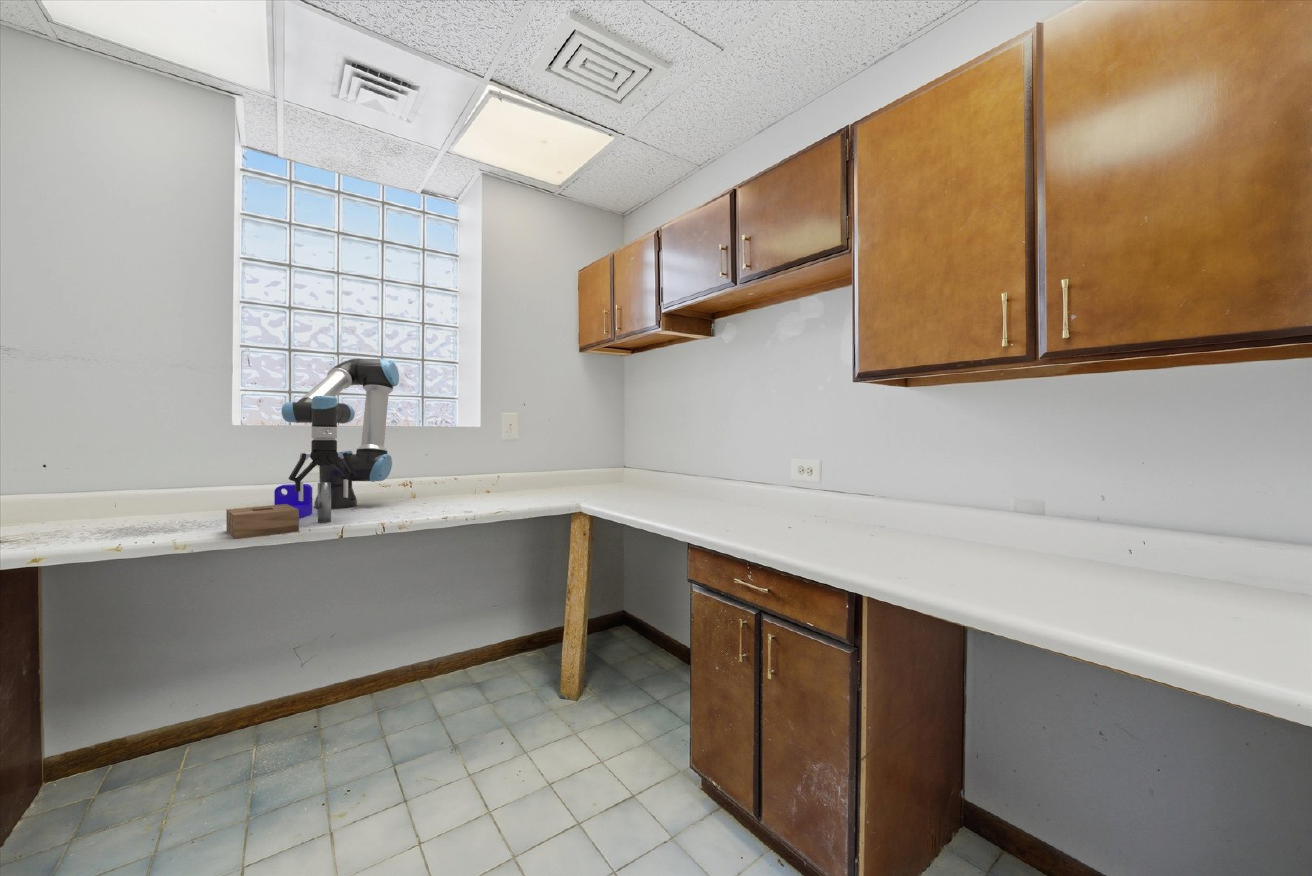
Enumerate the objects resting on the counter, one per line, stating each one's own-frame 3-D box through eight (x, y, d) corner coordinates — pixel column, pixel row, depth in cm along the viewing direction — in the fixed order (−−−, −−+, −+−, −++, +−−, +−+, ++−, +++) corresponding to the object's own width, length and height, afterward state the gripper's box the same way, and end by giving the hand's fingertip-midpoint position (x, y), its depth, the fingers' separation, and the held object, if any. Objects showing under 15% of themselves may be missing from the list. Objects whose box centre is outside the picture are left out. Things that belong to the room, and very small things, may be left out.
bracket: (277, 515, 187) (277, 484, 187) (312, 513, 191) (312, 483, 191) (263, 524, 170) (263, 490, 170) (301, 522, 175) (301, 489, 175)
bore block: (226, 530, 159) (226, 509, 159) (287, 524, 171) (287, 504, 171) (234, 538, 148) (234, 515, 148) (298, 531, 160) (298, 509, 160)
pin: (316, 521, 175) (316, 482, 175) (329, 520, 178) (329, 481, 178) (319, 523, 173) (319, 483, 172) (332, 521, 176) (332, 482, 175)
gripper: (283, 439, 163) (283, 503, 163) (366, 439, 181) (366, 496, 182) (278, 439, 168) (278, 501, 168) (360, 439, 187) (359, 495, 187)
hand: (324, 499), depth 175 cm, fingers open, 13 cm apart
